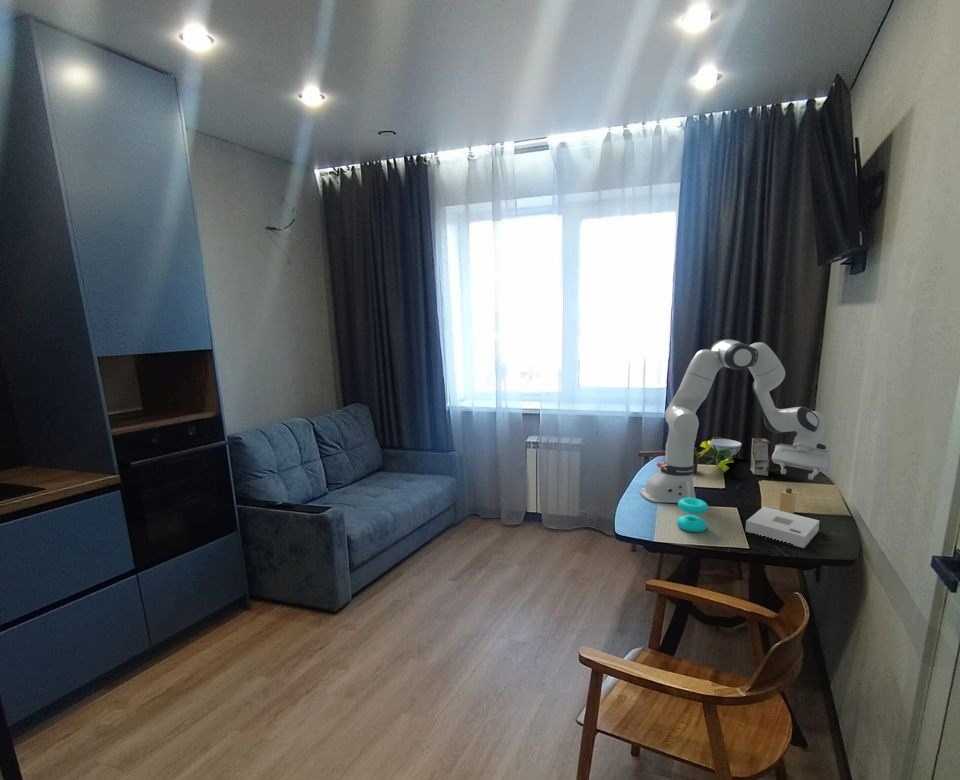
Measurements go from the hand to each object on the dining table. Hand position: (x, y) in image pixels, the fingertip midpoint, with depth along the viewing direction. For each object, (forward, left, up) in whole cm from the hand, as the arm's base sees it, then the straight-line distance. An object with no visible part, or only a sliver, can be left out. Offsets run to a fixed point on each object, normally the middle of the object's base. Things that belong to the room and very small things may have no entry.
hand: (796, 475), depth 195 cm
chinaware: (+9, +67, -13) cm, 69 cm away
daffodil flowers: (-5, +49, -13) cm, 51 cm away
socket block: (-20, -22, -12) cm, 32 cm away
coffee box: (+11, +40, -13) cm, 43 cm away
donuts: (-50, -16, -13) cm, 54 cm away
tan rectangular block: (-7, -6, -12) cm, 15 cm away
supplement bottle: (-21, +45, -12) cm, 51 cm away
